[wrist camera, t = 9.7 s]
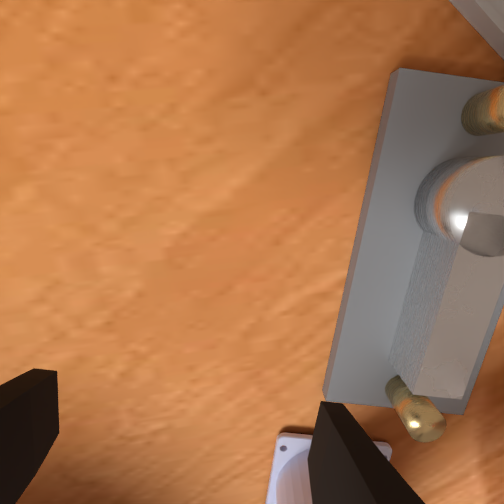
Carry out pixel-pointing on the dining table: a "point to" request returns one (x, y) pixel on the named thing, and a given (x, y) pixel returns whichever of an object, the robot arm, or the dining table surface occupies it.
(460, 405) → the board
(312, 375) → the dining table surface
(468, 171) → the ball topped lever
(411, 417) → the peg pair
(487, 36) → the adjustable wrench
